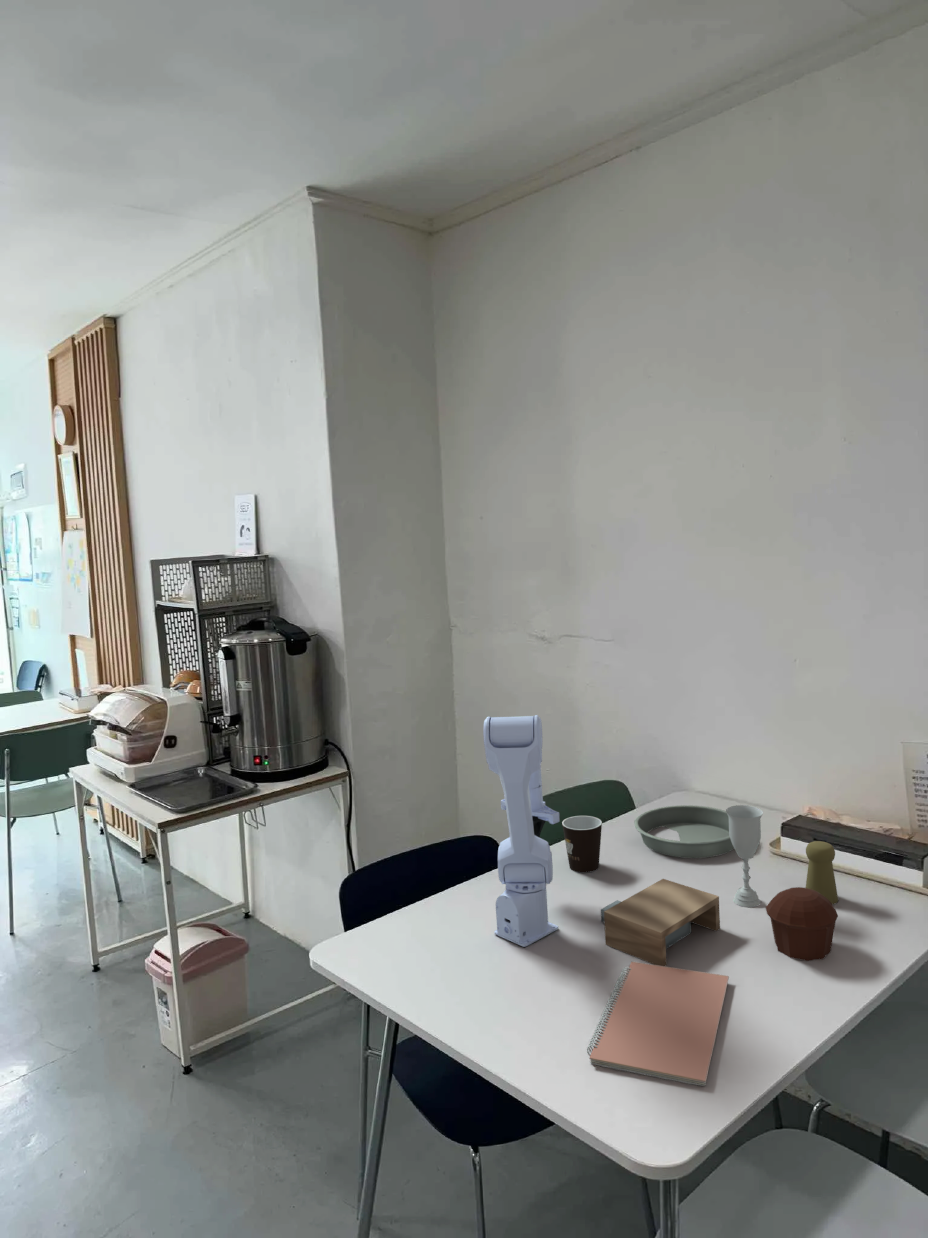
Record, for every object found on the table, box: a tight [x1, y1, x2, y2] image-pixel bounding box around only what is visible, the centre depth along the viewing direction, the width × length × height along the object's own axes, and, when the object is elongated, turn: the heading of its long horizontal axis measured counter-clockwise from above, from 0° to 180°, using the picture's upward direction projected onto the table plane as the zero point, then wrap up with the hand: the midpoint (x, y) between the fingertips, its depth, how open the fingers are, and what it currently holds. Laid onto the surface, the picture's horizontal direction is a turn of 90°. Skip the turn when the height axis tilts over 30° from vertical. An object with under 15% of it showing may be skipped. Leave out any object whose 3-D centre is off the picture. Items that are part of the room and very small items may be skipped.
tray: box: [600, 899, 692, 950], centre depth 156 cm, size 9×15×4 cm, turn 42°
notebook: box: [586, 961, 730, 1087], centre depth 128 cm, size 27×17×2 cm, turn 157°
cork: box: [805, 840, 839, 906], centre depth 163 cm, size 6×6×11 cm
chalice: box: [725, 804, 764, 908], centre depth 163 cm, size 7×7×18 cm
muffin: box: [765, 886, 839, 962], centre depth 145 cm, size 12×11×10 cm
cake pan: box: [633, 804, 735, 859], centre depth 197 cm, size 25×25×4 cm
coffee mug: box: [561, 815, 603, 874], centre depth 187 cm, size 12×9×10 cm
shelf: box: [603, 878, 721, 967], centre depth 152 cm, size 18×12×6 cm, turn 132°
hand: (531, 849), depth 173 cm, fingers closed
